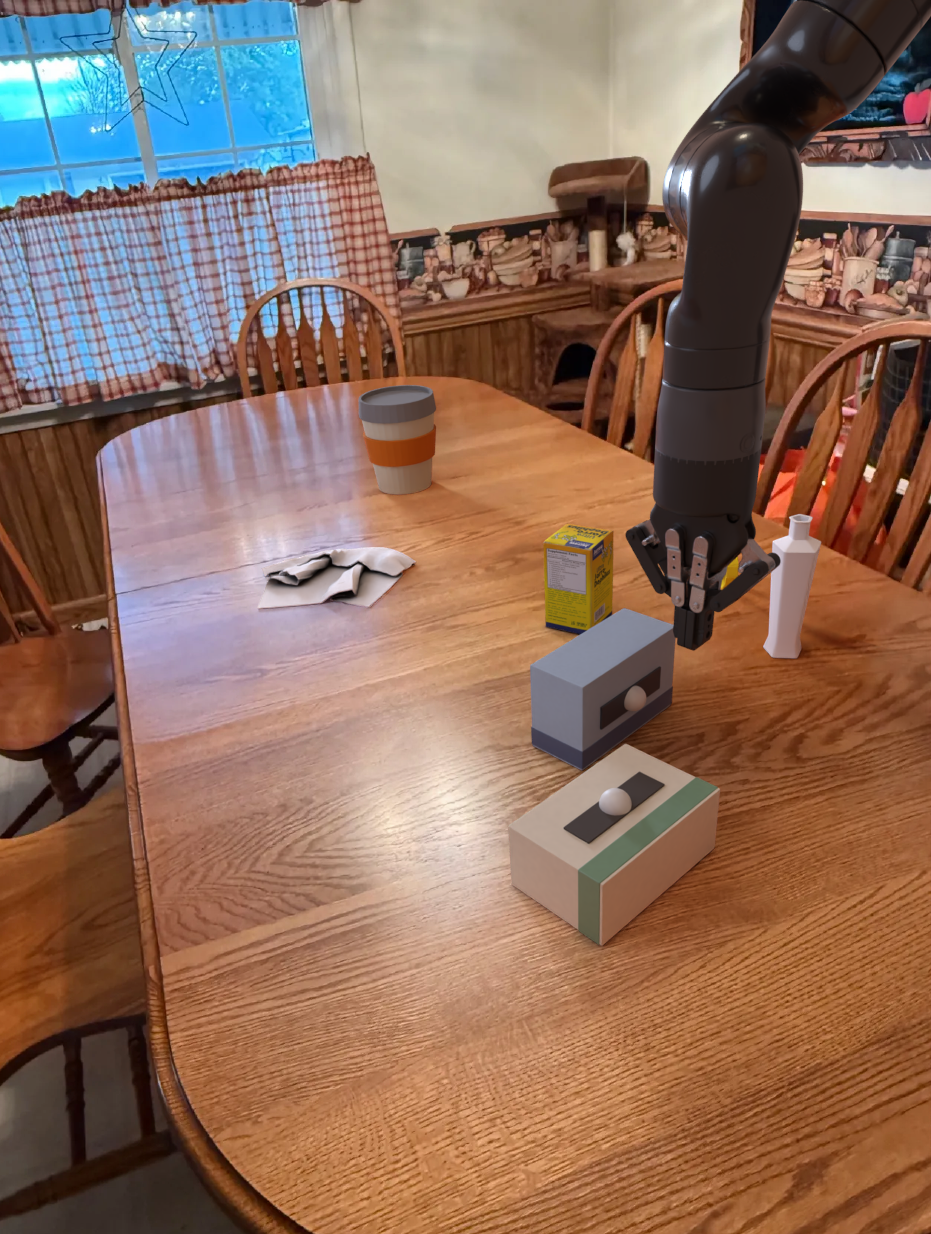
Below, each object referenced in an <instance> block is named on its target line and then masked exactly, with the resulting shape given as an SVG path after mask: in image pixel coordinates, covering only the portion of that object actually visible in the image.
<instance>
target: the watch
mask: <svg viewBox="0 0 931 1234" xmlns="http://www.w3.org/2000/svg"><path fill="white" fill-rule="evenodd" d="M738 568H739V555H738V556H737V557H736V558H735V559H734V560H733V561H732V562H731V563H730V564H729V565H728V567H727V572H726V575H725V576H724V578H723V580H722V584H721V589H720V590H723V589H724V588H725V587H726V586H727V585H728V584H730V583H731V582H732V581H733V580H734V579H735V578H736V577H738V576H739V572H738Z"/></svg>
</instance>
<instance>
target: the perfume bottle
mask: <svg viewBox="0 0 931 1234" xmlns="http://www.w3.org/2000/svg"><path fill="white" fill-rule="evenodd" d="M788 518H789V520H790V522H789V528H788V535H784V536H782V537H779V538H777V539H774V540H772V544H771V553H776V554H777V555H778V556H779V557H780V560H781V562H780V565H779V566H778V567H777V568H776V569H774V570H773V571H772V572H771V573H770V590H769V591H770V592H769V593H770V595H769V615H768V616H769V617H768V635H767V637H766V639H765V642H764V644H763V646H762V647H763V649H764V650H765V652H766V653H768V655H769V656H770V657H771V658H772V659H773V658H774V659H798V658H799V655H800V654H801V651H802V642H801V633H802V629H803V624H804V620H805V615H806V610H807V606H808V602H809V597H810V593H811V590H812V585H813V581H814V576H815V571H816V568H817V563H818V560H819V559H818V558H819V554H820V550H821V546H822V541H821V540H820V539H817V538H815V537H813V536H811V535H810V530H811V529H810V528H811V522H812V521H813V518H814V517H813V516H811V515H806V514H802V513H798V514H794V515H791V516H789V517H788Z"/></svg>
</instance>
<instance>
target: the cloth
mask: <svg viewBox="0 0 931 1234" xmlns="http://www.w3.org/2000/svg"><path fill="white" fill-rule="evenodd" d="M416 564H417V561H416V560H415V559H413V558H412V557H410V556H409V555H407V554H405V553H403V552H402V551H399V550H397V549H394V548H390V547H384V546H375V547H374V546H370V547H367V546H366V547H365V546H363V547H362V546H361V547H358V548H349V549H348V548H336V549H326V550H321V551H318V552H316V553H310V554H304V555H302V556H299V557H294V558H287V559H285V560H282V561H279V562H277V563H272V564H270V565H267V566H265V567H261V571H262V574H263V575H264V577H265V578H266V577H267V576H270V578H268V579H267V581H266V584H265V587H264V590H263V592H262V595H261V597H260V600H259V602H258V605H257V610H262V609H276V608H286V607H297V606H298V607H299V606H311V605H319V604H323V603H324V602H325V601H327V600H329V601H332V602H336V603H337V602H338V603H344V604H347V605H351V606H357V607H364V608H370V607H372V606H373V605H374V604H375V603H376V602H377V601H378V600H379V599H380V598H382V597H383V596H384V595H385V594H386V593H387V592H388V591H389V590H390V589H392V587H393V586H394V585H395V584H397V582H399V580H400V579H402V577H403V574H404V573H403V571H406V570H408V569H409V568H411V567H413V566H415V565H416ZM329 598H330V599H329Z"/></svg>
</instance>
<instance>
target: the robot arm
mask: <svg viewBox="0 0 931 1234" xmlns="http://www.w3.org/2000/svg"><path fill="white" fill-rule="evenodd" d="M930 18H931V0H793V2H792V3H791V4H790V6H789V7H788V9H787V10H786V12H785V13H784V15H783V16H782V18H781V20H780V21H779V22H778V24H777V26H776V28H775V29H774V31H773V32H772V33H771V35H770V36H769V38H768V39H767V40H766V42H764V43H763V45H762V46H761V48H759V50H757V52H756V53H755V54H754V55H753V56H752V57H751V59H749V60H748V61H747V63H745V65H744V66H742V67H741V69H740V70H739V71H738V72H737V73H736V75H734V77H733V78H732V79H731V80H730V81H729V83H728V84H726V86H725V87H724V88H723V89H722V90H721V91H720V93H719V94H718V95H717V96H716V98H715V99H713V101H712V102H711V103H710V104H709V105H708V107H707V108H706V109H705V110H704V111H703V112H702V114H701V115H700V116H699V117H698V119H697V120H696V121H695V122H694V124H693V125H692V126H691V128H690V129H689V130H688V131H687V133H686V134H685V135H684V137H683V139H682V140H681V142H680V143H679V144H678V147H677V148H676V150H675V151H674V153H673V155H672V157H671V159H670V161H669V163H668V166H667V168H666V171H665V175H664V178H663V182H662V191H661V198H662V199H661V200H662V206H663V210H664V213H665V217H666V219H667V221H668V222H669V223H670V225H671V226H672V227H673V228H674V230H675V231H676V232H677V233H678V234H680V235H681V236H682V237H684V238H685V239H686V253H685V261H684V267H683V268H684V269H683V278H682V284H681V285H682V286H681V292H680V293H678V294H677V295H676V296H674V298H673V299H672V301H671V303H670V305H669V307H668V310H667V315H666V319H665V329H664V342H663V357H662V359H663V360H662V361H663V362H662V380H661V388H660V393H659V399H658V404H657V411H656V412H657V413H656V423H655V443H654V444H655V445H654V462H653V464H654V465H653V482H652V498H653V500H654V505H653V507H652V508H651V510H650V513H649V519H647V520H644V521H641V522H639V523H638V524H636V525H634V526H632V527H631V528H629V529H627V530H626V532H625V534H624V535H625V539H626V541H627V543H628V545H629V547H630V548H631V550H632V552H633V554H634V556H635V557H636V559H637V561H638V562H639V564H640V566H641V569H642V570H643V572H644V574H645V575H646V577H647V579H648V581H649V583H650V584H651V587H652V588H653V590H654V592H656V593H657V594H659V595H664V594H665V595H667V596H668V597H669V598H670V600H671V603H672V605H674V609H673V610H674V611H673V623H672V624H673V625H674V626H673V633H674V637H675V638H676V644H677V646H679V647H682V648H685V649H688V650H690V651H693V652H695V651H696V650H698V649H700V647H702V646H703V645H705V644H706V643H707V642H708V641H710V640H711V638H712V637H713V632H714V620H715V613H720V612H722V611H724V610H725V609H727V608H728V607H730V606H732V604H734V603H736V602H737V601H739V600H740V599H741V598H742V597H744V596H745V595H746V594H747V593H748V592H749V591H751V590H752V589H753V588H754V587H756V586H757V585H758V584H759V583H761V581H762V580H764V579H765V578H766V577H767V576H769V575H771V572H772V571H773V570H774V569H776V568H777V567H778V566H779V565H780V562H781V560H780V557H779V556H778V555H777V554H776V553H772V552H769V553H766V552H765V550H764V549H763V548H762V547H761V546H760V544H758V542H757V541H756V540H755V539H756V535H757V529H756V526H755V523H754V520H753V508H754V505H755V502H756V497H757V492H758V491H757V490H758V482H759V473H760V465H761V464H760V463H761V456H762V446H763V438H764V430H765V419H766V409H767V408H766V402H767V401H766V379H767V378H766V376H767V369H768V359H769V351H770V341H771V332H772V315H773V312H774V311H773V310H774V307H775V304H776V301H777V299H778V296H779V293H780V290H781V288H782V284H783V282H784V278H785V275H786V271H787V268H788V264H789V263H790V258H791V254H792V251H793V248H794V245H795V240H796V237H797V233H798V229H799V224H800V220H801V216H802V215H801V214H802V208H803V200H804V174H803V173H804V172H803V166H802V160H801V157H800V154H801V153H802V152H803V151H804V149H805V148H806V147H807V146H808V145H809V143H811V142H812V140H813V139H814V138H815V137H816V136H817V135H818V134H819V133H820V132H821V131H822V130H824V128H826V127H828V125H831V124H832V123H834V122H836V121H839V120H840V119H843V118H844V117H846V116H849V114H851V113H852V112H854V111H855V110H856V109H857V108H858V107H859V106H860V105H861V104H862V103H863V102H864V101H865V100H866V99H867V98H868V97H869V96H870V94H871V93H873V91H874V90H875V88H877V86H878V85H879V83H880V82H881V81H882V80H883V79H884V77H885V76H886V74H887V73H888V72H889V71H890V70H891V68H892V67H893V65H894V64H895V63H896V62H897V60H898V59H899V58H900V56H901V55H902V54H903V53H904V51H905V50H906V49H907V47H908V46H909V45H910V44H911V42H912V41H913V39H915V37H916V36H917V34H918V33H919V32H920V31H921V30H922V28H923V27H924V26H925V24H926V23H927V22H928V20H929V19H930ZM740 555H741V559H740V561H738V563H739V565H738V566H739V568H738V577H736V578H735V579H734V580H733V581H732V582H731V583H730V584H728V585H727V586H726V587H725V588H724V589H723V590H721V584H722V580H723V578H724V576H725V575H726V572H727V567H728V565H729V564H730V563H731V562H732V561H733V560H734V559H735V558H736V557H737V556H738V557H739V556H740Z"/></svg>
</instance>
